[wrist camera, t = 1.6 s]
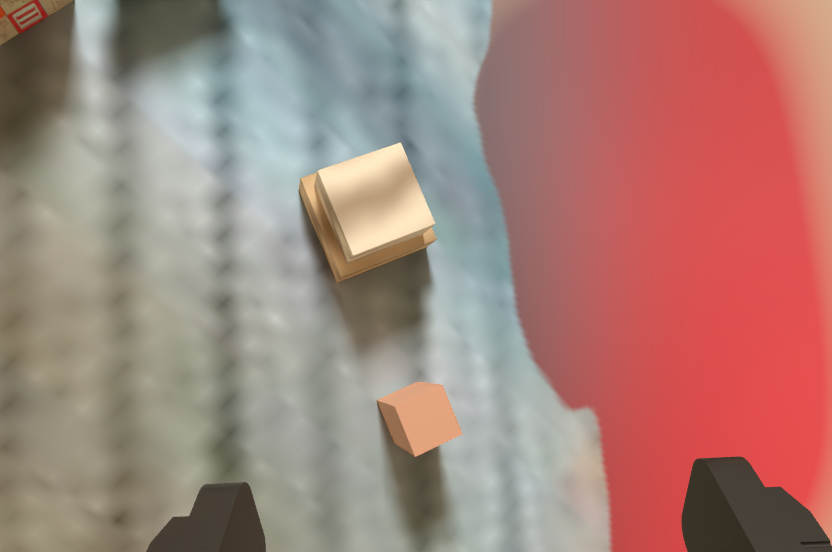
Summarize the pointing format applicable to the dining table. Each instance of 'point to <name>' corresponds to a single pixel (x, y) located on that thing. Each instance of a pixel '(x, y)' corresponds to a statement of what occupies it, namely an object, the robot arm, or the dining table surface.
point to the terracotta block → (419, 417)
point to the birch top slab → (373, 202)
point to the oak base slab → (332, 247)
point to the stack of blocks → (25, 15)
